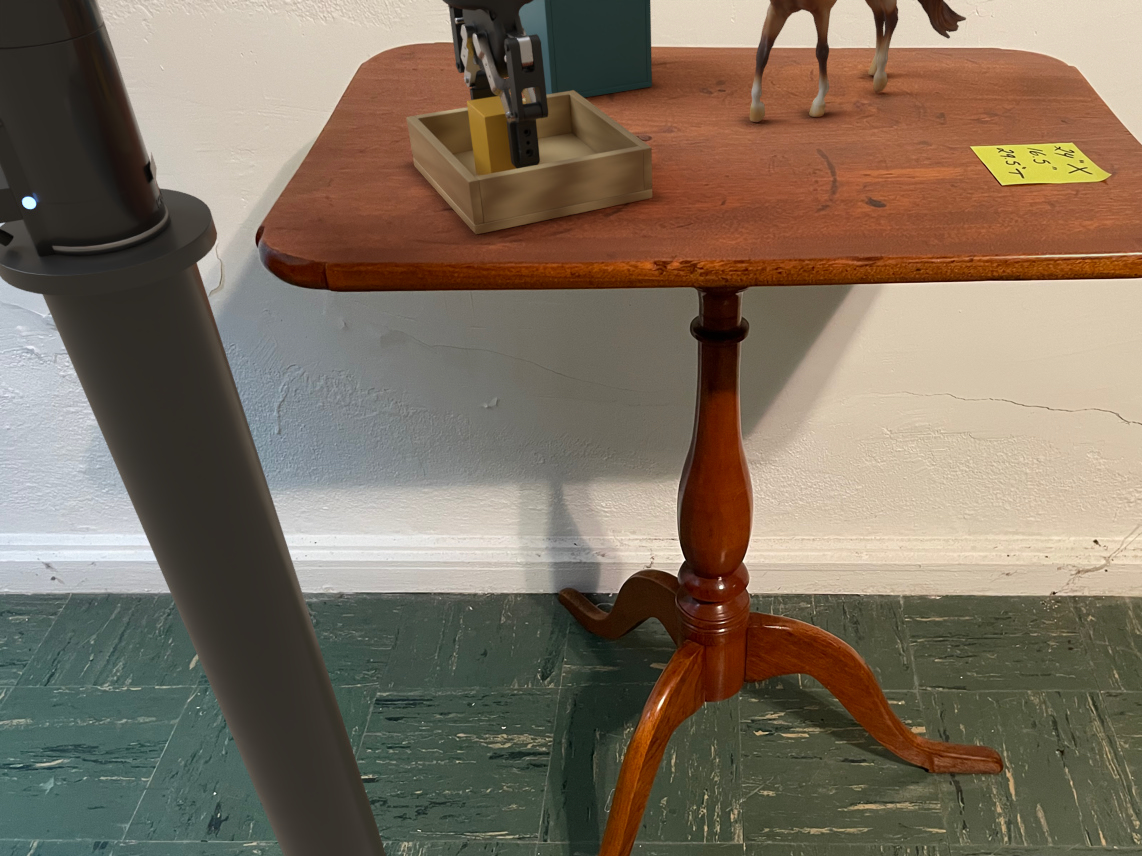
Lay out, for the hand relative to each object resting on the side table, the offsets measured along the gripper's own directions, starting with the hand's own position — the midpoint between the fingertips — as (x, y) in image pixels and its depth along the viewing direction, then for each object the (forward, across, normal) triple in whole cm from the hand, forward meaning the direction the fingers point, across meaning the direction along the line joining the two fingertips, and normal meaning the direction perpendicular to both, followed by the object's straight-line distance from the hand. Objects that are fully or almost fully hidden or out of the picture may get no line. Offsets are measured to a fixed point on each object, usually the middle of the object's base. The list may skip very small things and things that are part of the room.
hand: (507, 148), depth 90 cm
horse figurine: (+4, -3, +39) cm, 39 cm away
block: (+2, 0, 0) cm, 2 cm away
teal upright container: (+3, -23, +17) cm, 29 cm away
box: (+3, 0, +2) cm, 4 cm away
